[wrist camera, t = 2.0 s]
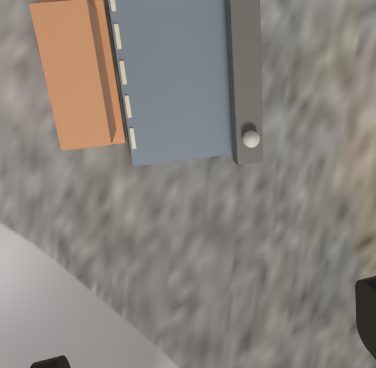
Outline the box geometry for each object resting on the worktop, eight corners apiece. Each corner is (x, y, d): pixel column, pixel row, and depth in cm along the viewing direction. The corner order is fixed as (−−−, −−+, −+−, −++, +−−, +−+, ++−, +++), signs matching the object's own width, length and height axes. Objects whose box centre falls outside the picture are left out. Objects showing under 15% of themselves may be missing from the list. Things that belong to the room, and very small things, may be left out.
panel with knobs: (102, -44, 23) (96, -60, 20) (246, -54, 24) (261, -71, 21) (134, 168, 28) (133, 180, 25) (252, 153, 29) (265, 163, 26)
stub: (45, 2, 24) (13, -18, 18) (104, -3, 24) (92, -23, 18) (74, 145, 27) (56, 167, 21) (125, 139, 27) (122, 159, 22)
